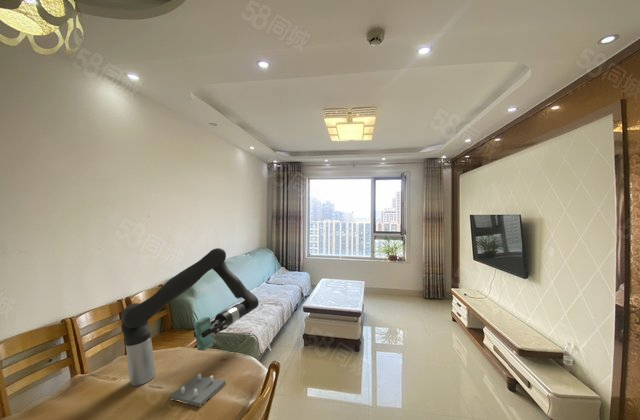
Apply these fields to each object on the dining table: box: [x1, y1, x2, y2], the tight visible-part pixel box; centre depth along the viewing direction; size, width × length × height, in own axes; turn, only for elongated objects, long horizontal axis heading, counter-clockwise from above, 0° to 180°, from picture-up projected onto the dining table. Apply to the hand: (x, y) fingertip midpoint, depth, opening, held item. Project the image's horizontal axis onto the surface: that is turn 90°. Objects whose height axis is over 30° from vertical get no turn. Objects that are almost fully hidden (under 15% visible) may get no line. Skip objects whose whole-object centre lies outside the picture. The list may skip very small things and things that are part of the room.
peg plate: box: [169, 373, 227, 407], centre depth 98 cm, size 16×12×4 cm
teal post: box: [193, 316, 215, 352], centre depth 110 cm, size 4×5×12 cm
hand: (198, 335), depth 108 cm, fingers closed on teal post, 4 cm apart
